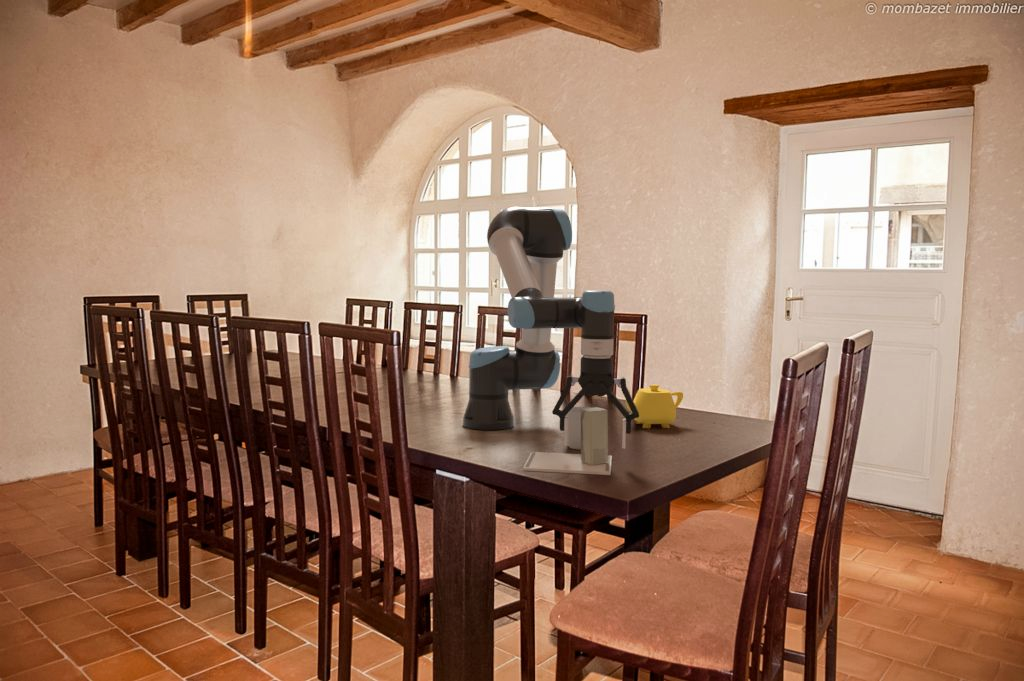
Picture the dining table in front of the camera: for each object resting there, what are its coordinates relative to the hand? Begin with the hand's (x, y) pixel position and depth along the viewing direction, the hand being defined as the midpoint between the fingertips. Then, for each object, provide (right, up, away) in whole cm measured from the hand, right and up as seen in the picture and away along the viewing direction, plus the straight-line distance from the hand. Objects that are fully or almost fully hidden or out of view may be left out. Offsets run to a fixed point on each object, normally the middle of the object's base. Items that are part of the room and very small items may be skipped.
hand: (594, 445), depth 176 cm
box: (0, -4, +1) cm, 4 cm away
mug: (-2, -3, +21) cm, 21 cm away
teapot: (+22, -1, +50) cm, 54 cm away
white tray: (-6, -5, +1) cm, 8 cm away
